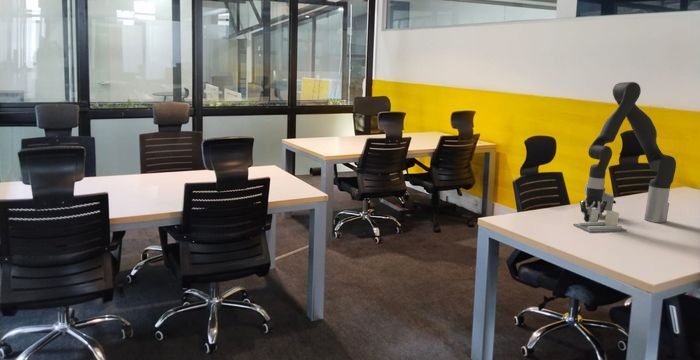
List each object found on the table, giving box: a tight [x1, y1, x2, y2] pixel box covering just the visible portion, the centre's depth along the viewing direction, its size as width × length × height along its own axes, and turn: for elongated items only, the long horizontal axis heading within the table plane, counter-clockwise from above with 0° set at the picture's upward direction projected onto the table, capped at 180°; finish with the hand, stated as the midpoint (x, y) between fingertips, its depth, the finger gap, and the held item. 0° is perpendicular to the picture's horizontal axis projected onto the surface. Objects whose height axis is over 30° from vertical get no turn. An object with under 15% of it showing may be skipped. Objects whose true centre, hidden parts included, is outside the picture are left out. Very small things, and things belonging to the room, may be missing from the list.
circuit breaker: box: [581, 183, 617, 218], centre depth 308 cm, size 8×14×15 cm, turn 78°
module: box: [584, 208, 599, 222], centre depth 293 cm, size 4×5×7 cm
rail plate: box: [573, 210, 628, 234], centre depth 284 cm, size 20×12×8 cm, turn 106°
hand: (591, 221), depth 293 cm, fingers open, 4 cm apart
